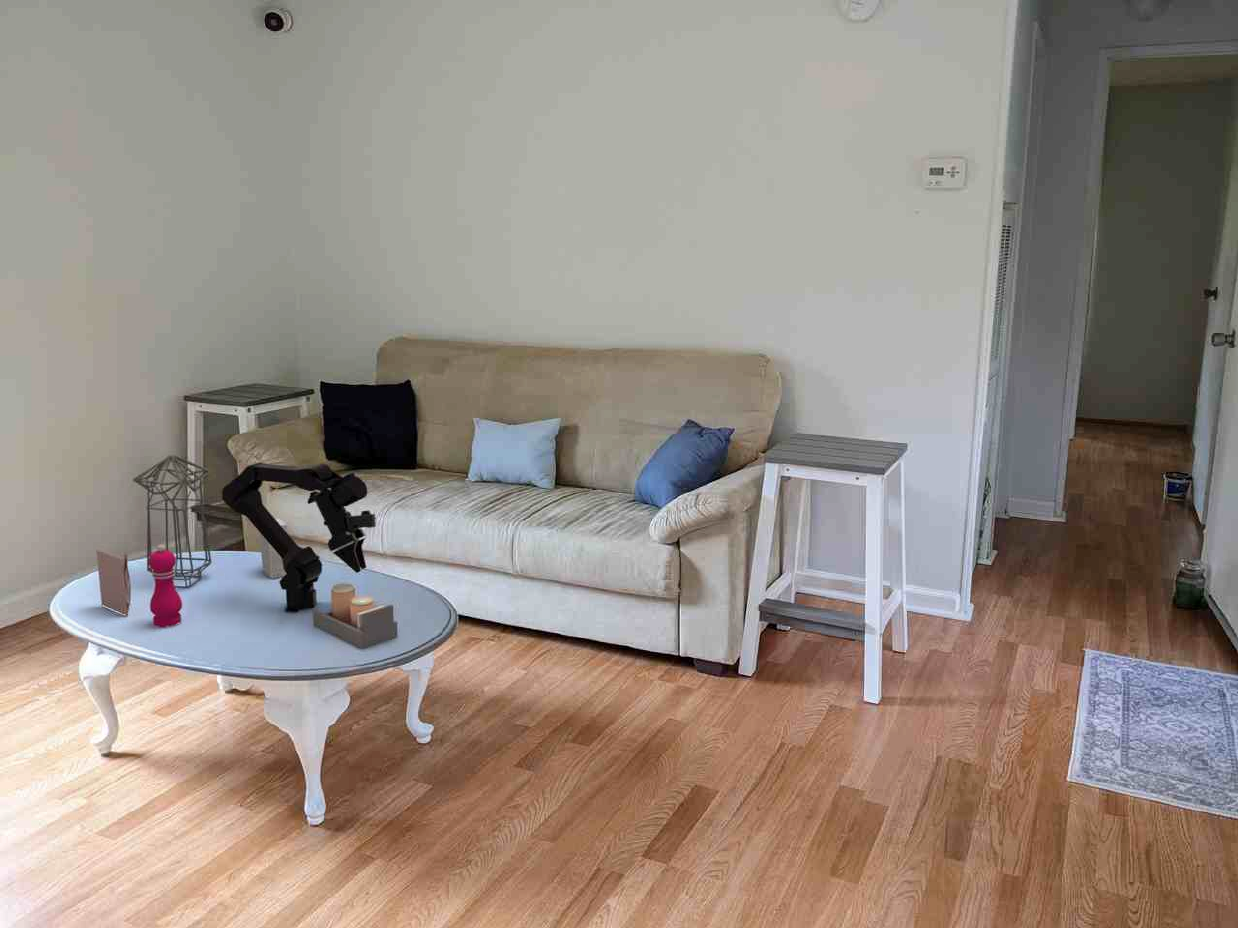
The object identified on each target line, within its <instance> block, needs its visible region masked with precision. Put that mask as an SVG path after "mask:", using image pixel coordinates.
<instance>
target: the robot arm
mask: <svg viewBox="0 0 1238 928" xmlns="http://www.w3.org/2000/svg"><path fill="white" fill-rule="evenodd" d="M263 482H271V483H279V484H280V483H281V484H289V485H295V486H296V487H297V488H299V489H301V490H304V491H306V492H310V493H309V496H308V499H307V502H306V503H307V504H308V505H310V504H312V503H316V507H317V508H318V510H319V512H320V514H321V517H322V519H323V524H324V526H325V527H327V529H328V531H329V534H330V539H329V540H328V542H327V544H326V545H327V546H328V549H329V552H332V553H333V555H335V556H336V557H337V558H339V559H340V560H341V561H342V562H344V564H346V566H348V567H349V568H351V569H352V571H354V572H355V573H356V574H358V573H360V572H362V571H361V570H365V569H366V568H367V564H366V559H365V555H364V549H363V544H364V542H365V540H366V533H365V532H364V530H363V528H368V529H370V528H375V527H376V526H377V523H376V520H377V519H376V515H375V513H371V511H370V510H363V511H361V513H360V514H358V515H352V514H351V512H350V511H347V509H346V507H348V506H351V505H352V504H354V503H356V502H359V501H360V500H362V499H365V498H366V497H367V495H368V488H367V487H368V486H367V484H366V483H365V482H364V481H363V480H362V479H361V478H360V477H358V476H356V475H355V473H354V472H350V473H348V474H346V475H344V476H342V475H340V474H338V473H337V472H336V471H334V470H332V469H331V467H330V466H329V465H328V464H327V463H314V464H309V465H303V466H295V465H294V466H293V465H286V464H285V465H284V464H283V465H281V464H273V463H272V464H271V463H265V462H262V461H261V462H259V461H258V462H255V463H253V464H250V465H247V466H246V467H245V468H244V469H243V471H242V472H241V473H239V475H237V476H236V477H235V478H234V479H233V480H231V481H230V482H229V484H226V485H225V486H223V489H222V494H221V495H222V496H221V498H222V500H223V502H224V503H225V505H227V506H228V507H229V508H230V509H231V510H233V512H236V513H237V514H240V515H242V516H245V517H246V518H247V519H248V520H249V521H250V523H251V524H252V525H253V526H254V528H256V530H257V531H258V533H259V534H260V533H261V534H262V535H263V537H264V538H265V539H266V540H267V541H268V543H269V544H270V545H271V546H272V547H273V548H274V550H275V551H276V552H277V553H278V554H279V555H280V557H281V558H282V561H283V568H284V571H285V572H286V575H285V576H284V577H281V579H280V580H279V585H280V586H279V587H280V588H281V590H285V596H286V597H285V598H286V599H285V600H286V601H285V602H286V607H285V609H284V613H298V612H300V611H302V610H307V609H314V608H315V607H316V606H317V605H318V601H317V589H315V583H317V582H318V581H319V578H320V576H321V575H322V571H323V563H322V561H321V560H320V558H321V556H320V555H317V554H316V552H315V551H314V550H313V548H312V547H311V546H306V547H304V548H303V547H301V546H299V545H298V544H297V543H296V542H295V541H294V539H293V538H292V537H291V536H290V535H289V533H288V531H287V532H286V531H285V530H284V529H283V528H282V527H281V525H280V524H279V523H278V522H277V521H276V520H275V519H276V518H275V517H274V516H273V515H272V514H271V512H270V511H269V510H268V509H267V508H266V506H264V504H263V498H262V494H261V492H260V490H259V489H260V488H261V487H262V486H263V484H264V483H263Z"/></svg>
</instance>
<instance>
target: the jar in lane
mask: <svg viewBox="0 0 1238 928" xmlns="http://www.w3.org/2000/svg"><path fill="white" fill-rule="evenodd" d="M374 608H376V607H375V600H374V597H372V596H370V595H355V597H354V598H352V599H351V602H350V616H351V626H352V627H354V628H356V629H358V624H357V614H358V613H361V612H364V611H367V610H371V609H374Z"/></svg>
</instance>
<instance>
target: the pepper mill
mask: <svg viewBox="0 0 1238 928" xmlns="http://www.w3.org/2000/svg"><path fill="white" fill-rule="evenodd" d="M156 549H157V551H154V552H153V553H152V555H151V556H149V568H150V567H151V568H152V573H151V574H152V575H151V576H152V578H153V579H154V590H153V593H152V596H151V599H150V602H149V610H150V612H151V613H152V614H153V615H154V616H153V618H152V621H153V625H154V626H155V625H156V626H155V627H157V626H159V627H158V628H167V627H166V626H171V627H173V626H172V625H175V624H177V623H179V622H180V623H182V614H181V613H180V611H181V610H182V608H183V602H182V599H181V596H180V594H179V593H178V591H177V589H176V587H175V586H176V585H175V584H174V580H173V578H174V577H173V576H175V573H174V572H175V571H174V569H175V568H174V567H175V566H176V555H175V554H174V553H173V552H172V551H169V550H168V551H167V550H166V545H165V544H159V545H158V546H157V548H156ZM180 623H179V624H180ZM177 625H178V624H177ZM175 626H176V625H175Z"/></svg>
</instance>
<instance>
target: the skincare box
mask: <svg viewBox="0 0 1238 928" xmlns="http://www.w3.org/2000/svg"><path fill="white" fill-rule="evenodd" d="M275 520H276V521H277V522H278V523H279V524H280V525H281V527H282V528H283V529H284V530H285V531H286V532H287V533H288V527H287V525H288V524H287V523H285V522H284V521H282V520H281V519H280V518H275ZM259 540H260V551H261V552H260V553H261V564H262V572H263V573H264V574H265V575H267V576H268V577H269V579H271V580H272V579H277V578H278V579H279V578H283V577H284V576H285V575H286V572H285V571H284V568H283V561H282V558H281V557H280V555H279V554H278V553H277V552H276V551H275V550H274V548H273V547H272V546H271V545H270V544H269V543H268V541H267V540H266V539H265V538H264V537H263V535H262V534H261V533H260V532H259Z"/></svg>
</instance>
